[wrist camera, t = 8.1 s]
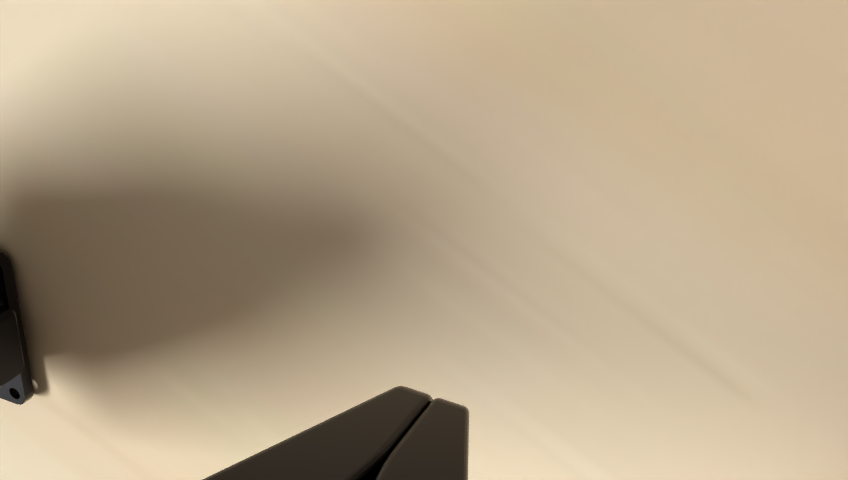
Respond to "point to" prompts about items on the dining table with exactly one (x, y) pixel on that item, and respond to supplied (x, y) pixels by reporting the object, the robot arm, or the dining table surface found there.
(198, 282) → the dining table surface
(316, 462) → the robot arm
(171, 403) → the dining table surface
